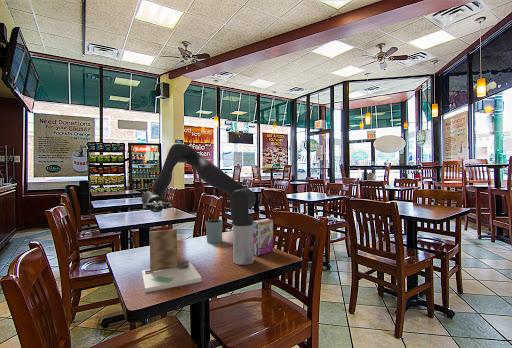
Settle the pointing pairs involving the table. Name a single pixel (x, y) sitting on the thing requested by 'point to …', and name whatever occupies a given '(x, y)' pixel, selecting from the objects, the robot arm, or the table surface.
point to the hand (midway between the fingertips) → (159, 208)
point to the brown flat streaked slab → (164, 251)
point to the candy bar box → (263, 236)
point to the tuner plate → (170, 278)
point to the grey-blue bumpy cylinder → (214, 231)
